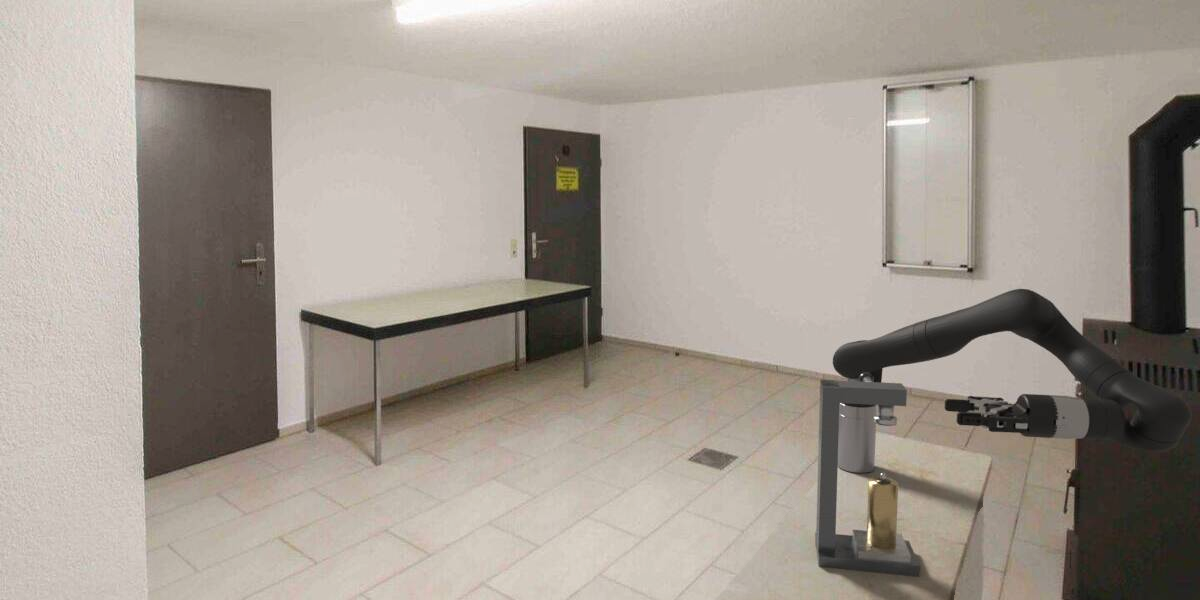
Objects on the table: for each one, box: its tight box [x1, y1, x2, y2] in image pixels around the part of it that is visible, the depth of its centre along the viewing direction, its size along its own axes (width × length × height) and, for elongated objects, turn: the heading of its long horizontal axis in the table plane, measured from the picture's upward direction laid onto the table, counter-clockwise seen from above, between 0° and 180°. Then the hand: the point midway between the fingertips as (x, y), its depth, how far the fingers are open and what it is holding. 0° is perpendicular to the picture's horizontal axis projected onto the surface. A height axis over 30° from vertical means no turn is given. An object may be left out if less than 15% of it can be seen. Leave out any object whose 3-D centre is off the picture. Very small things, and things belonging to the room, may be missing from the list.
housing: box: [866, 472, 899, 549], centre depth 130 cm, size 5×5×14 cm
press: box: [814, 372, 921, 577], centre depth 133 cm, size 18×18×34 cm
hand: (951, 411), depth 125 cm, fingers open, 8 cm apart
